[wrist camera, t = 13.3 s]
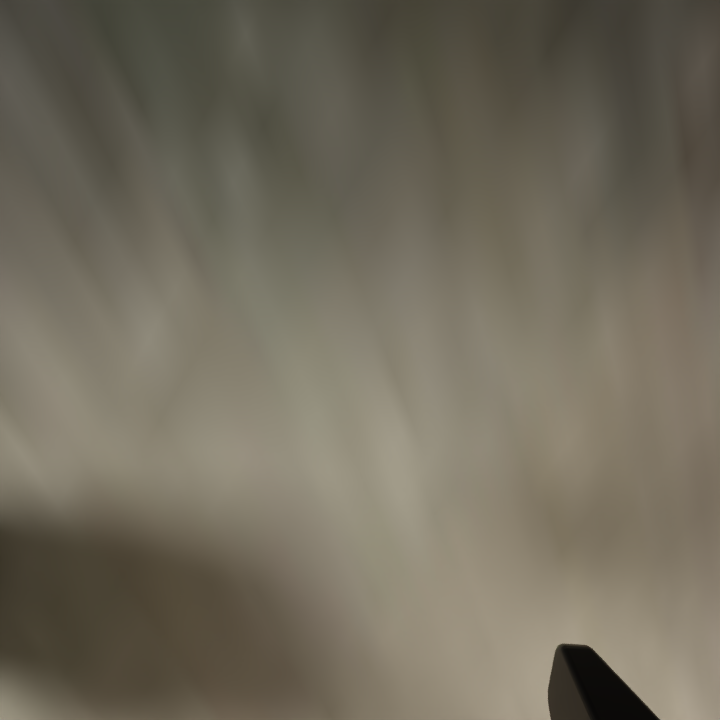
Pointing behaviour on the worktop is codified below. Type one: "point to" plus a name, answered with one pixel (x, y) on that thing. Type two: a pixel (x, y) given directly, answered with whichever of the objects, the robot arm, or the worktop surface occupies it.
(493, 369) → the worktop surface
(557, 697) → the robot arm
